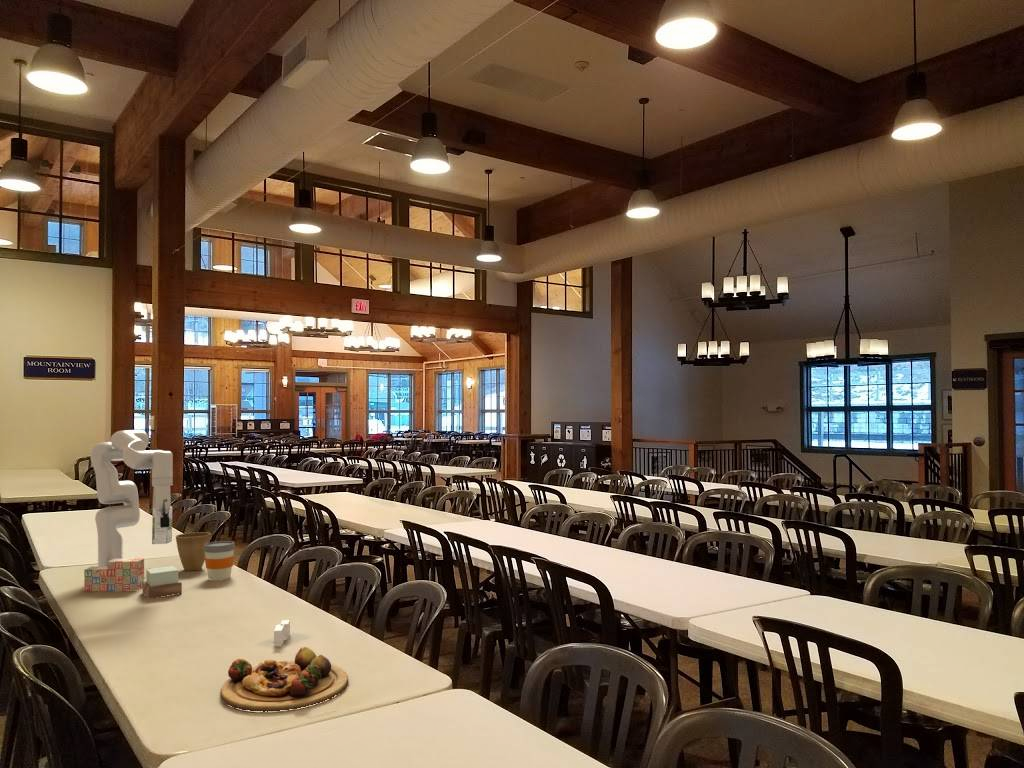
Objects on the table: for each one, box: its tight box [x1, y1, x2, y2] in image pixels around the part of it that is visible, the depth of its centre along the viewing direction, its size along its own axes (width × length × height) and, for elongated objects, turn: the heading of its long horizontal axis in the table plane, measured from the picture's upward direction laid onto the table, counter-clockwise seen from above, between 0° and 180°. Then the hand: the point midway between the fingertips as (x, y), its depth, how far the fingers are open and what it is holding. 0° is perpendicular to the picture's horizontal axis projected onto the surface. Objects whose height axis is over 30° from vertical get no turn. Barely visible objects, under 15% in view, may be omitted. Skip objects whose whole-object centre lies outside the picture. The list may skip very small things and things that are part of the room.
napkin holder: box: [273, 619, 291, 647], centre depth 235 cm, size 15×11×6 cm
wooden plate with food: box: [219, 646, 349, 712], centre depth 194 cm, size 32×32×8 cm
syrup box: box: [151, 506, 173, 545], centre depth 298 cm, size 6×6×14 cm
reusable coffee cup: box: [204, 540, 236, 581], centre depth 324 cm, size 13×13×15 cm
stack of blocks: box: [83, 557, 145, 593], centre depth 306 cm, size 21×6×12 cm, turn 93°
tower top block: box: [145, 565, 179, 586], centre depth 298 cm, size 10×10×5 cm
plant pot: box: [175, 531, 211, 572], centre depth 343 cm, size 15×15×16 cm
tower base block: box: [141, 579, 183, 599], centre depth 298 cm, size 12×12×5 cm
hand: (162, 525), depth 298 cm, fingers closed on syrup box, 7 cm apart
